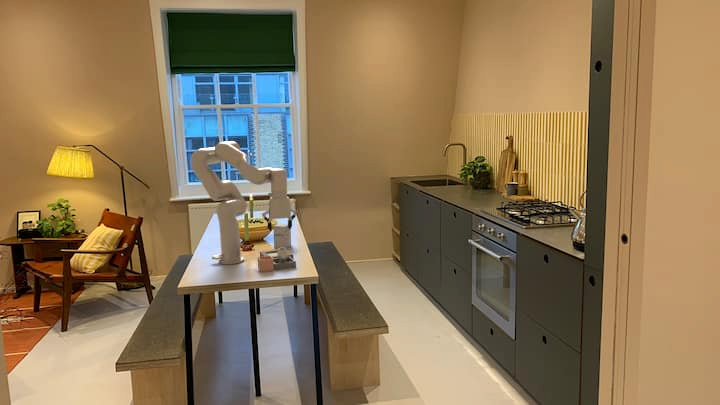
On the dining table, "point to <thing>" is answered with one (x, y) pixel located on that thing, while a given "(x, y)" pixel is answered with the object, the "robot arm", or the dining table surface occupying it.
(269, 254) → the pale green square panel
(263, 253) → the box
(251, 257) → the dining table surface
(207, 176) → the robot arm
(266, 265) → the orange open cube box
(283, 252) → the cell
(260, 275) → the dining table surface
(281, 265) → the tray
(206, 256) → the dining table surface
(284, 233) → the supplement box
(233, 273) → the dining table surface
